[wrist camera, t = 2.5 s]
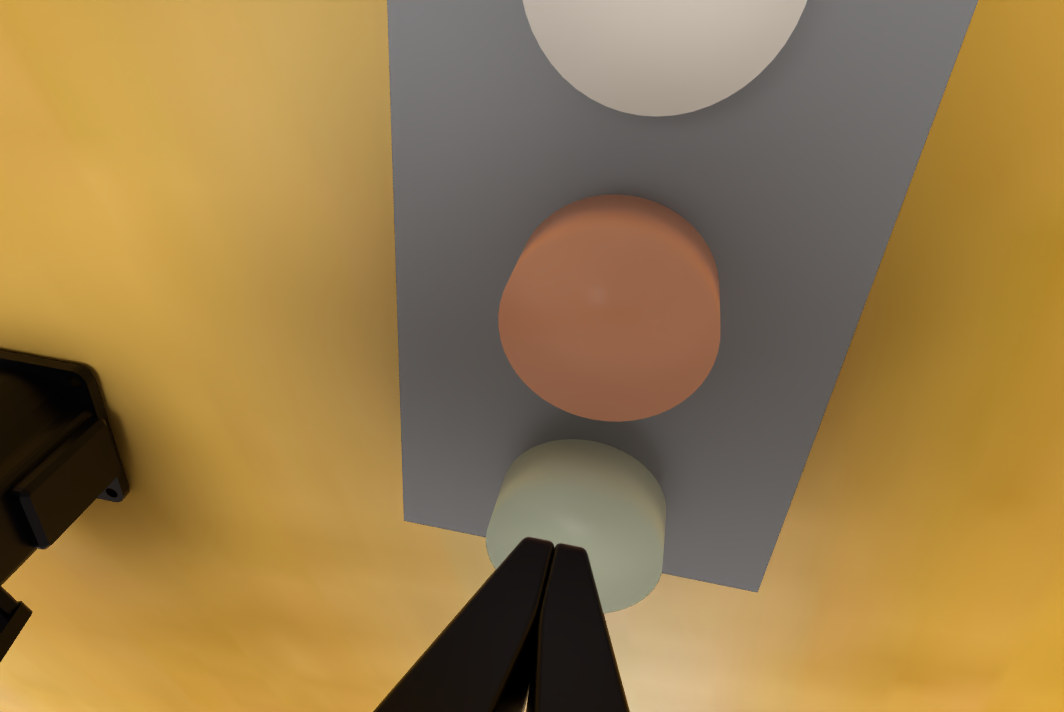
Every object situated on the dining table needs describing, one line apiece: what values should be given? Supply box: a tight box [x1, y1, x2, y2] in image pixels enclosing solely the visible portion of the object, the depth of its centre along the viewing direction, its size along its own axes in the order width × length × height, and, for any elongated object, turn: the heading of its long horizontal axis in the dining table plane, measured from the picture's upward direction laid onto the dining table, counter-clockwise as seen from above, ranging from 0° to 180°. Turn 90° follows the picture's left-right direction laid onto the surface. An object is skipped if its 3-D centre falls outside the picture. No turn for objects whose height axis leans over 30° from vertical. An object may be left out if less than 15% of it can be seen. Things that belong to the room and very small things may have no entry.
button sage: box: [486, 439, 666, 613], centre depth 19 cm, size 4×4×2 cm
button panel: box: [387, 0, 978, 592], centre depth 19 cm, size 11×20×3 cm, turn 175°
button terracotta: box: [498, 194, 720, 422], centre depth 16 cm, size 4×4×2 cm
